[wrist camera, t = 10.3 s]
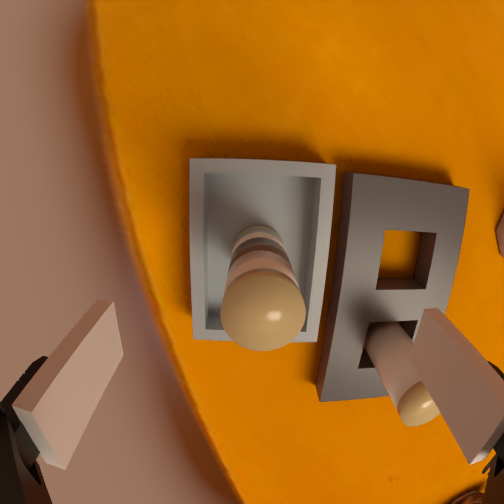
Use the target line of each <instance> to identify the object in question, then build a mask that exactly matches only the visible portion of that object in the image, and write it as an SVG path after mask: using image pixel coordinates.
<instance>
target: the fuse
mask: <svg viewBox="0 0 504 504" xmlns="http://www.w3.org/2000/svg"><path fill="white" fill-rule="evenodd" d="M413 344H414V342H413V341H412V339H411V338H410V337H409V335H408V334H407V333H406V331H405V330H404V329H403V328H402V326H401V325H400V324H399V323H398V321H389V322H369V324H368V328H367V333H366V337H365V341H364V348H365V349H366V351H367V353H368V355H369V357H370V359H371V361H372V363H373V364H374V366H375V368H376V370H377V372H378V374H379V376H380V378H381V380H382V382H383V384H384V386H385V388H386V389H387V391H388V393H389V395H390V397H391V399H392V401H393V403H394V405H395V407H396V409H397V411H398V413H399V415H400V417H401V419H402V421H403V423H404V424H405V425H407V426H418V425H422V424H424V423H427V422H429V421H430V420H432V419H433V418H435V417H436V416H437V415H438V414H440V411H439V409H438V407H437V406H436V404H435V402H434V401H433V399H432V397H431V396H430V394H429V392H428V391H427V389H426V387H425V386H424V384H423V382H422V381H421V379H420V378H419V376H418V374H417V373H416V371H415V370H414V368H413V366H412V365H411V363H410V362H409V360H408V359H409V356H410V353H411V350H412V347H413Z"/></svg>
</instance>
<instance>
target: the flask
mask: <svg viewBox="0 0 504 504" xmlns="http://www.w3.org/2000/svg"><path fill="white" fill-rule="evenodd" d="M496 234H497V239H498V245H499V250H500V255H501V256H503V257H504V213H503V216H502V218H501V221H500V223H499V225H498V228H497V230H496Z"/></svg>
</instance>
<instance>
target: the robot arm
mask: <svg viewBox="0 0 504 504" xmlns="http://www.w3.org/2000/svg"><path fill="white" fill-rule="evenodd" d="M122 357H123V350H122V345H121V340H120V335H119V329H118V324H117V318H116V312H115V306H114V301H108V300H97V301H96V302H95V303H94V304H93V305H92V307H91V308H90V309H89V310H88V311H87V312H86V314H85V315H84V316H83V317H82V318H81V319H80V320H79V322H78V323H77V324H76V325H75V326H74V327H73V328H72V330H71V331H70V332H69V333H68V334H67V336H66V337H65V338H64V339H63V340H62V341H61V343H60V344H59V345H58V346H57V348H56V349H55V350H54V351H53V352H52V354H51V355H50V356H49V357H45V356H42V357H41V358H39V359H37V360H36V361H34V362H33V363H32V364H31V365H30V366H29V367H28V369H27V370H26V371H25V374H23V375H22V376H21V377H20V378H19V381H17V382H16V383H15V385H14V386H13V387H12V388H11V390H10V391H9V392H8V393H7V395H6V396H5V397H4V399H3V400H2V401H1V402H0V504H52V501H51V498H50V496H49V493H48V490H47V488H46V485H45V482H44V479H43V476H42V473H41V470H40V467H39V464H38V463H37V461H36V459H37V457H38V455H39V453H40V454H41V455H42V457H43V458H44V460H45V461H46V463H48V464H51V465H53V466H56V467H59V468H62V469H65V470H66V468H67V465H68V463H69V461H70V459H71V457H72V455H73V452H74V450H75V449H76V446H77V444H78V442H79V440H80V438H81V436H82V434H83V432H84V430H85V428H86V426H87V424H88V422H89V420H90V418H91V416H92V413H93V412H94V410H95V408H96V406H97V404H98V402H99V400H100V398H101V396H102V394H103V393H104V391H105V389H106V387H107V385H108V383H109V381H110V379H111V377H112V375H113V374H114V372H115V370H116V368H117V366H118V364H119V363H120V361H121V359H122ZM408 360H409V362H410V363H411V365H412V366H413V368H414V370H415V371H416V373H417V374H418V376H419V378H420V379H421V381H422V382H423V384H424V386H425V387H426V389H427V391H428V392H429V394H430V396H431V397H432V399H433V401H434V402H435V404H436V406H437V407H438V409H439V411H440V413H441V414H442V416H443V418H444V419H445V421H446V423H447V425H448V426H449V428H450V430H451V432H452V434H453V435H454V437H455V439H456V441H457V443H458V444H459V446H460V448H461V450H462V452H463V454H464V455H465V457H466V459H467V461H468V463H469V465H471V464H473V463H476V462H478V461H481V460H483V459H485V458H486V457H487V455H488V454H489V453H490V451H491V450H492V449H494V450H495V452H496V454H495V456H494V457H493V458H492V459H491V461H490V462H489V463H488V464H487V466H486V467H485V468H484V469H483V471H482V473H483V474H484V473H485V472H486V471H487V470H488V468H490V472H489V473H488V474H487V475H489V476H488V480H487V484H486V488H485V492H484V496H483V499H482V503H481V504H504V374H503V373H502V371H501V370H500V369H499V368H498V367H497V366H495V365H494V364H492V363H491V362H489V361H486V359H485V358H484V357H483V356H482V355H481V354H480V353H479V352H478V350H477V349H476V348H475V347H474V346H473V345H472V344H471V343H470V342H469V341H468V340H467V338H466V337H465V336H464V335H463V334H462V333H461V332H460V331H459V330H458V329H457V328H456V327H455V326H454V325H453V324H452V322H451V321H450V320H449V319H448V318H447V317H446V316H445V315H444V314H443V313H442V312H441V311H440V310H439V309H438V308H431V309H424V311H423V315H422V318H421V321H420V325H419V328H418V332H417V335H416V338H415V341H414V344H413V347H412V350H411V353H410V356H409V359H408Z"/></svg>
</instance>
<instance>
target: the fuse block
mask: <svg viewBox="0 0 504 504" xmlns="http://www.w3.org/2000/svg"><path fill="white" fill-rule="evenodd" d="M468 198H469V189H467V188H463V187H459V186H455V185H449V184H443V183H437V182H430V181H424V180H417V179H409V178H402V177H394V176H386V175H377V174H368V173H359V172H349V171H344V177H343V190H342V202H341V214H340V224H339V234H338V243H337V252H336V260H335V269H334V276H333V284H332V291H331V298H330V305H329V312H328V318H327V325H326V331H325V337H324V343H323V348H322V354H321V360H320V365H319V370H318V376H317V381H316V390H317V393H318V397H319V401H320V402H326V401H341V400H354V399H364V398H374V397H382V396H390V395H389V393H388V391H387V389H386V388H385V386H384V384H383V382H382V380H381V378H380V376H379V374H378V372H377V370H376V368H375V366H374V364H373V363H372V361H371V359H370V357H369V355H368V353H362V350H363V346H364V341H365V337H366V333H367V328H368V324H369V322H389V321H403V325H402V328H403V329H404V330H405V331H406V333H407V334H408V335H409V337H410V338H411V339H412V341H413V342H414V341H415V338H416V335H417V332H418V328H419V325H420V321H421V318H422V315H423V311H424V309H431V308H438V309H439V310H440V311H441V312H442V313H443V314H444V315H445V311H446V308H447V304H448V301H449V297H450V293H451V289H452V285H453V281H454V277H455V272H456V268H457V263H458V259H459V254H460V249H461V243H462V238H463V232H464V226H465V220H466V213H467V206H468ZM385 229H386V230H402V231H417V232H422V235H421V241H420V247H419V253H418V258H417V264H416V269H415V274H414V279H384V278H378V273H379V267H380V260H381V254H382V247H383V240H384V233H385Z"/></svg>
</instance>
